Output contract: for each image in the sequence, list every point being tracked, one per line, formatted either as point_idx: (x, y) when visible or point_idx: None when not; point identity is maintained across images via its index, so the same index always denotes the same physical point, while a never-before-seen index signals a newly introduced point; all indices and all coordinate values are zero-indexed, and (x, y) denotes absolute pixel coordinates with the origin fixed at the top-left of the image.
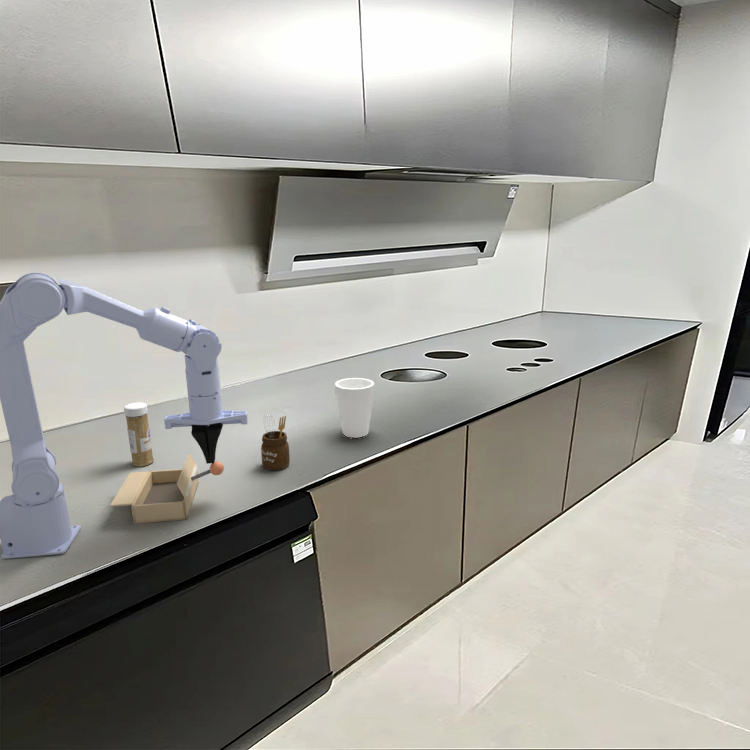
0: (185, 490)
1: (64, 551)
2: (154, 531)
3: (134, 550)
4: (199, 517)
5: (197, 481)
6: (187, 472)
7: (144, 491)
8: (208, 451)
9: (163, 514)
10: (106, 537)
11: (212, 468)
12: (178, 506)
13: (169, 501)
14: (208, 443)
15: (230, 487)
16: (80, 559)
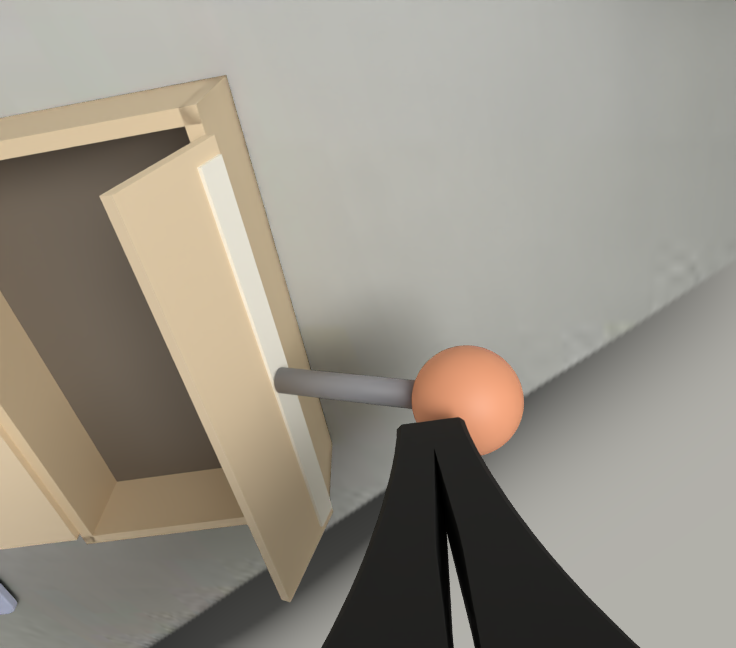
0: (312, 510)
1: (15, 607)
2: None
3: (232, 582)
4: (383, 428)
5: (229, 113)
6: (247, 412)
7: (7, 368)
8: (447, 581)
9: None
10: (81, 536)
11: None
12: None
13: None
14: (444, 598)
15: (478, 135)
16: (93, 612)
